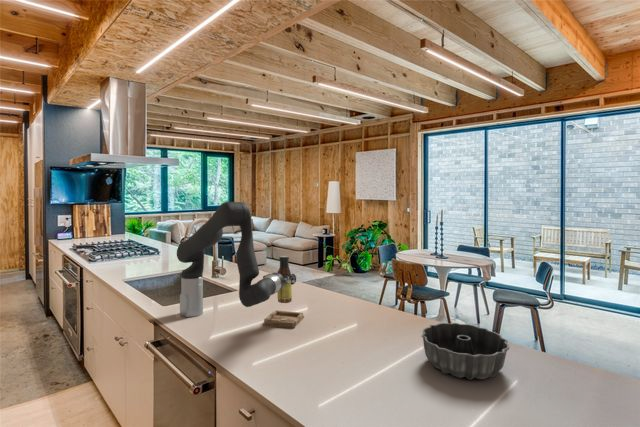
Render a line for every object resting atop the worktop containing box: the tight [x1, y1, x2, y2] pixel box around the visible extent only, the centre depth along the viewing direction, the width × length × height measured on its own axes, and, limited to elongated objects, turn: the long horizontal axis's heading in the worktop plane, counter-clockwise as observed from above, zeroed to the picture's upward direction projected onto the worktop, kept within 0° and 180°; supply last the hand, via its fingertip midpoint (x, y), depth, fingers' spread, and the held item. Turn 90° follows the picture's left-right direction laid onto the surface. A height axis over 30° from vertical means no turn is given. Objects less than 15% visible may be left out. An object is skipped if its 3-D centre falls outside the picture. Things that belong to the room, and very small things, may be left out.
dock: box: [262, 310, 305, 329], centre depth 162 cm, size 14×14×2 cm
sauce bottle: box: [276, 255, 293, 304], centre depth 160 cm, size 7×6×20 cm
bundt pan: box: [421, 322, 510, 381], centre depth 120 cm, size 26×26×10 cm
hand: (286, 275), depth 163 cm, fingers closed on sauce bottle, 6 cm apart
